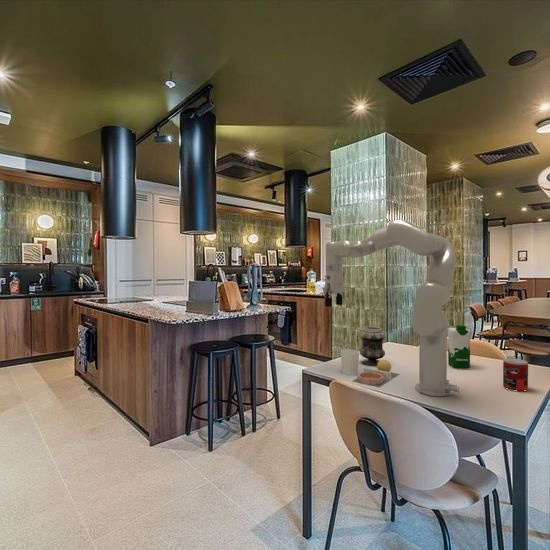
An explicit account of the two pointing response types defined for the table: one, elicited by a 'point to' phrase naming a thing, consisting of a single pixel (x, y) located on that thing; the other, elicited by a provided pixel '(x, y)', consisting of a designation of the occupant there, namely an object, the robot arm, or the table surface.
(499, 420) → the table surface
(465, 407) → the table surface
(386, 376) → the white thin block
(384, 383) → the mat
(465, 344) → the milk carton
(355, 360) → the white cup
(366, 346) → the apothecary jar
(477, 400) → the table surface
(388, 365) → the ball
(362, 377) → the saucer
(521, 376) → the canned food
